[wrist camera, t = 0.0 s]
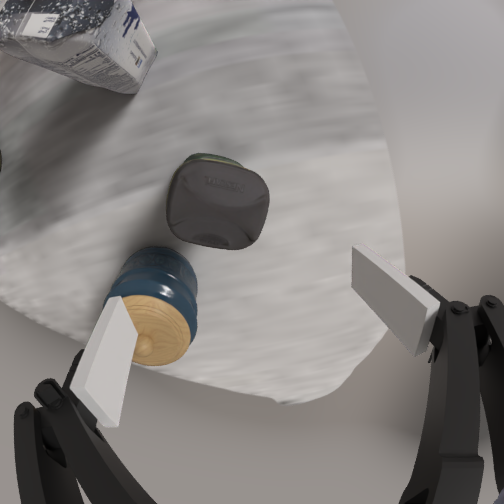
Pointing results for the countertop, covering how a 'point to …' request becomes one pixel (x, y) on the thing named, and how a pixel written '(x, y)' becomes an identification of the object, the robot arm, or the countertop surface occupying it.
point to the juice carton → (80, 40)
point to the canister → (159, 303)
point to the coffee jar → (216, 203)
